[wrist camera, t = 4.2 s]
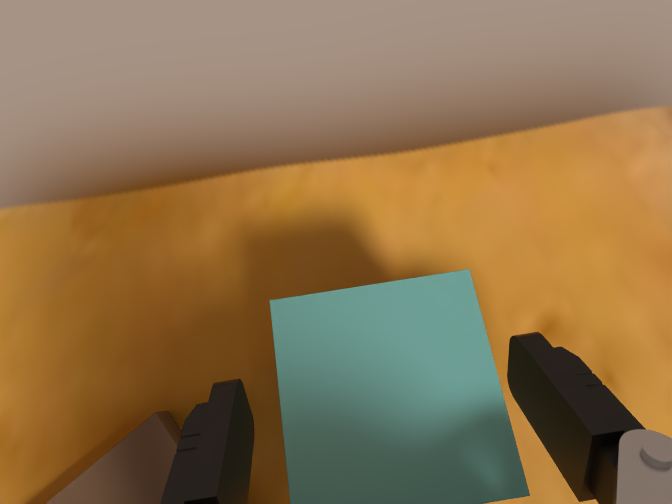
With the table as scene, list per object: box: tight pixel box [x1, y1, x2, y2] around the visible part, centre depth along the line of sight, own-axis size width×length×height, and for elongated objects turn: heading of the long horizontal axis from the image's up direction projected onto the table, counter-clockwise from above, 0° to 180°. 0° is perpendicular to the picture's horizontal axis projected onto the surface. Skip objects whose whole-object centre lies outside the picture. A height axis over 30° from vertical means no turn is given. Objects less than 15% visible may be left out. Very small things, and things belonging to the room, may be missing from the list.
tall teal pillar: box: [270, 269, 530, 504], centre depth 14 cm, size 5×5×8 cm
